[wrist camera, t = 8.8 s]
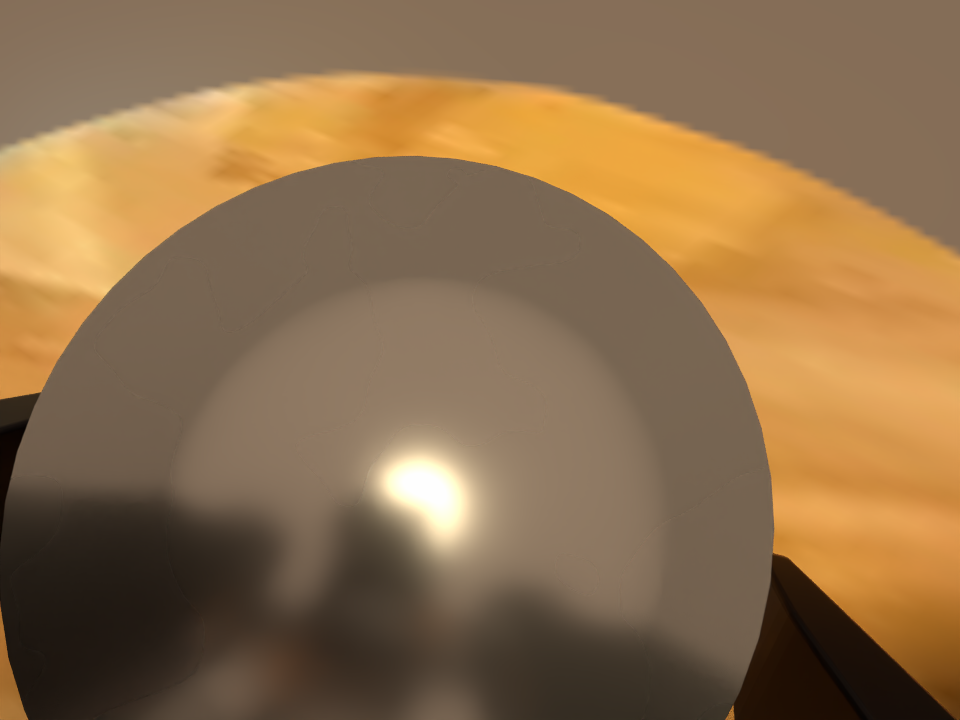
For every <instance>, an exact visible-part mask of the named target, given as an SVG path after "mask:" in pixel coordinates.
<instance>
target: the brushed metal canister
mask: <svg viewBox="0 0 960 720" xmlns="http://www.w3.org/2000/svg"><path fill="white" fill-rule="evenodd" d="M773 539H774V518H773V502H772V485H771V475H770V470H769V465H768V459H767V454H766V449H765V444H764V439H763V434H762V428H761V425H760V422H759V419H758V416H757V413H756V410H755V407H754V404H753V401H752V398H751V395H750V392H749V389H748V386H747V383H746V381H745V379H744V377H743V375H742V373H741V371H740V369H739V366H738V364H737V362H736V360H735V358H734V356H733V354H732V352H731V350H730V348H729V346H728V344H727V341H726V340H725V338H724V337H723V335H722V333H721V332H720V330H719V329H718V327H717V326H716V324H715V323H714V321H713V320H712V318H711V316H710V315H709V313H708V312H707V310H706V309H705V307H704V306H703V304H702V302H701V301H700V300H699V299H698V298H697V296H696V295H695V294H694V293H693V292H692V291H691V289H690V288H689V287H688V286H687V285H686V283H685V282H684V281H683V280H682V279H681V277H680V276H679V275H678V274H677V273H676V271H675V270H674V269H673V268H672V267H671V266H670V265H669V264H668V263H667V262H666V261H665V260H663V259H662V258H661V257H660V256H659V255H658V254H657V253H656V252H655V251H654V250H653V249H652V248H651V247H650V246H649V245H648V244H646V243H645V242H644V241H643V240H642V239H641V238H639V237H638V236H637V235H635V234H634V233H633V232H631V231H630V230H629V229H627V228H626V227H625V226H623V225H622V224H621V223H619V222H618V221H616V220H615V219H614V218H612V217H611V216H610V215H608V214H607V213H605V212H603V211H601V210H600V209H598V208H596V207H594V206H593V205H591V204H589V203H587V202H586V201H584V200H582V199H580V198H579V197H577V196H575V195H573V194H571V193H569V192H567V191H564V190H562V189H560V188H557V187H555V186H553V185H550V184H548V183H546V182H543V181H541V180H539V179H536V178H533V177H530V176H527V175H523V174H520V173H517V172H514V171H510V170H507V169H504V168H500V167H497V166H492V165H487V164H481V163H476V162H470V161H465V160H459V159H451V158H437V157H423V156H400V157H374V158H367V159H360V160H353V161H346V162H339V163H333V164H329V165H325V166H321V167H317V168H313V169H309V170H305V171H301V172H297V173H293V174H290V175H288V176H285V177H282V178H280V179H277V180H274V181H271V182H269V183H266V184H263V185H260V186H258V187H255V188H253V189H251V190H249V191H247V192H245V193H243V194H240V195H238V196H236V197H234V198H232V199H230V200H228V201H226V202H224V203H222V204H220V205H218V206H216V207H214V208H213V209H211V210H210V211H208V212H206V213H205V214H203V215H202V216H200V217H198V218H197V219H195V220H194V221H192V222H190V223H189V224H187V225H186V226H184V227H182V228H181V229H179V230H178V231H177V232H175V233H174V234H173V235H172V236H170V237H169V238H168V239H166V240H165V241H164V242H163V243H161V244H160V245H159V246H157V247H156V248H155V249H154V250H152V251H151V252H150V253H148V254H147V255H146V256H145V257H144V258H143V259H142V260H140V261H139V262H138V263H137V264H136V265H135V266H134V267H133V268H132V269H131V270H130V271H129V272H128V273H127V274H126V275H125V276H124V277H123V278H122V279H121V280H120V281H119V282H118V283H117V284H116V285H115V286H114V287H113V288H112V289H111V290H110V291H109V292H108V293H107V295H106V296H105V297H104V298H103V299H102V301H101V302H100V303H99V304H98V305H97V307H96V308H95V309H94V310H93V311H92V313H91V314H90V315H89V316H88V317H87V319H86V320H85V321H84V322H83V323H82V325H81V327H80V328H79V330H78V331H77V333H76V334H75V336H74V337H73V339H72V340H71V342H70V343H69V345H68V346H67V348H66V349H65V351H64V352H63V354H62V355H61V357H60V358H59V360H58V361H57V363H56V365H55V367H54V369H53V371H52V373H51V374H50V376H49V378H48V380H47V382H46V384H45V386H44V388H43V390H42V392H41V394H40V396H39V398H38V400H37V402H36V404H35V406H34V408H33V411H32V414H31V416H30V419H29V422H28V424H27V427H26V430H25V433H24V435H23V438H22V441H21V443H20V446H19V449H18V451H17V455H16V459H15V463H14V467H13V472H12V476H11V480H10V484H9V488H8V492H7V496H6V500H5V509H4V518H3V526H2V535H1V544H0V605H1V612H2V618H3V625H4V631H5V638H6V644H7V651H8V657H9V661H10V664H11V668H12V671H13V674H14V678H15V681H16V684H17V687H18V691H19V694H20V697H21V701H22V704H23V707H24V710H25V713H26V715H27V717H28V719H29V720H725V719H726V717H727V715H728V713H729V711H730V709H731V708H732V706H733V704H734V702H735V700H736V698H737V696H738V694H739V692H740V690H741V687H742V684H743V681H744V678H745V676H746V673H747V670H748V667H749V664H750V661H751V659H752V656H753V653H754V650H755V647H756V645H757V642H758V639H759V635H760V631H761V626H762V621H763V616H764V611H765V606H766V602H767V597H768V592H769V587H770V582H771V567H772V553H773Z"/></svg>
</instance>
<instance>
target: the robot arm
mask: <svg viewBox="0 0 960 720" xmlns="http://www.w3.org/2000/svg"><path fill="white" fill-rule="evenodd" d="M40 394H41V393H35V394H29V395H24V396H18V397H12V398H6V399H1V400H0V544H1V535H2V526H3V518H4V509H5V500H6V496H7V492H8V488H9V484H10V480H11V476H12V472H13V467H14V463H15V459H16V455H17V451H18V449H19V446H20V443H21V441H22V438H23V435H24V433H25V430H26V427H27V424H28V422H29V419H30V416H31V414H32V411H33V408H34V406H35V404H36V402H37V400H38V398H39V396H40ZM733 706H734V720H956V719H955V718H954V717H953V716H952V715H951V714H950V713H949V712H948V711H947V710H946V709H945V708H944V707H943V706H942V705H941V704H940V703H939V702H938V701H937V700H936V699H935V698H934V697H932V696H931V695H930V694H929V693H928V692H927V691H926V690H925V689H924V688H923V687H922V686H921V685H920V684H919V683H918V682H917V681H916V680H915V679H914V678H913V677H912V676H911V675H910V674H909V673H907V672H906V671H905V670H904V669H903V668H902V667H901V666H900V665H899V664H898V663H897V662H896V661H895V660H894V659H893V658H892V657H891V656H890V655H889V654H888V653H887V652H886V651H885V650H884V649H883V648H881V647H880V646H879V645H878V644H877V643H876V642H875V641H874V640H873V639H872V638H871V637H870V636H869V635H868V634H867V633H866V632H865V631H864V630H863V629H862V628H861V627H860V626H859V625H858V624H856V623H855V622H854V621H853V620H852V619H851V618H850V617H849V616H848V615H847V614H846V613H845V612H844V611H843V610H842V609H841V608H840V607H839V606H838V605H837V604H836V603H835V602H834V601H833V600H831V599H830V598H829V597H828V596H827V595H826V594H825V593H824V592H823V591H822V590H821V589H820V588H819V587H818V586H817V585H816V584H815V583H814V582H813V581H812V580H811V579H810V578H809V577H808V576H807V575H805V574H804V573H803V572H802V571H801V570H800V569H799V568H798V567H797V566H796V565H795V564H794V563H793V562H792V561H791V560H790V559H789V558H787V557H785V556H782V555H778V554H774V553H772V567H771V582H770V587H769V592H768V597H767V602H766V606H765V611H764V616H763V621H762V626H761V631H760V635H759V639H758V642H757V645H756V647H755V650H754V653H753V656H752V659H751V661H750V664H749V667H748V670H747V673H746V676H745V678H744V681H743V684H742V687H741V690H740V692H739V694H738V696H737V698H736V700H735V702H734V704H733Z"/></svg>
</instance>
